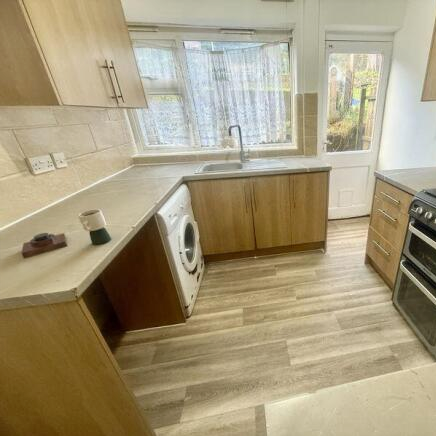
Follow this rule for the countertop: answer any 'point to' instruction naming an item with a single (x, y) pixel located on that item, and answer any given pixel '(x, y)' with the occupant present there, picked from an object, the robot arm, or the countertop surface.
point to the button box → (44, 245)
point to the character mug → (95, 226)
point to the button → (41, 236)
